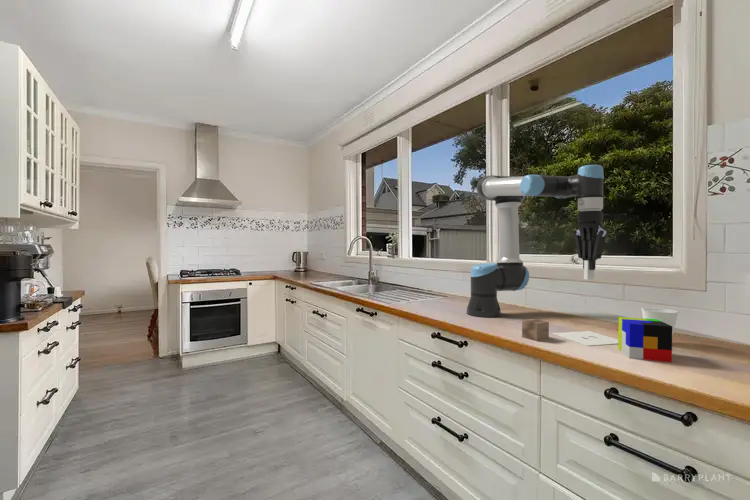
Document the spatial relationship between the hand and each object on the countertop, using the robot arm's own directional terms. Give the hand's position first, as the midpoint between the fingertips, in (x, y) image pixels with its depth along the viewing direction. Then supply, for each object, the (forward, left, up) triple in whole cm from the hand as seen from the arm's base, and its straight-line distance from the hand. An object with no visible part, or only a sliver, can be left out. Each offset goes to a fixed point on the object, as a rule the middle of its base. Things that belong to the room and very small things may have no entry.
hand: (589, 279), depth 124 cm
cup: (+10, +18, -21) cm, 29 cm away
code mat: (0, 0, -20) cm, 20 cm away
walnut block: (-4, -18, -21) cm, 28 cm away
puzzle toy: (+19, +1, -21) cm, 28 cm away
